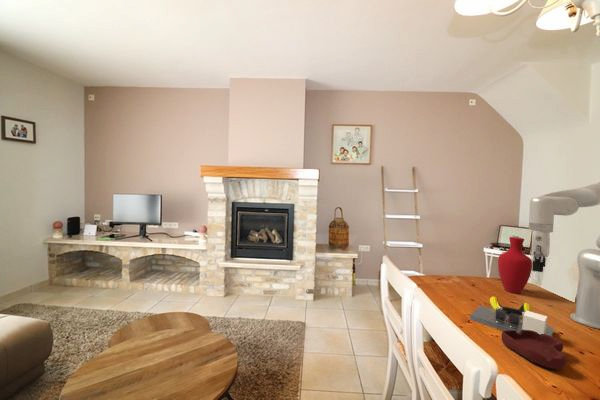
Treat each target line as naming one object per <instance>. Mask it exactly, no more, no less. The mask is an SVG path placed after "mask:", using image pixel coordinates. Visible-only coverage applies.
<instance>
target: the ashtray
mask: <svg viewBox="0 0 600 400" xmlns="http://www.w3.org/2000/svg"><path fill="white" fill-rule="evenodd" d="M501 342H502V344H503V345H504V346H505V347H506V348H508V349H509V350H512V351H513V352H515V353H518V354H519V355H521V356H523V357H524V358H526V359H527V360H529V361H530V362H533V363H535V364H536V365H540V366H543V367H544V368H545V369H547V370H550V371H556V370H561V369H563V368H565V367H566V364H567V357H566V355H565V353H563V352H562V351H563V350H564V343H563V342H562V341H560V340H559V339H558V338H557V337H555V336H549V335H546V334H538V333H537V332H535V331H532V330H521V331H520V332H519V333H517V332H516V330H509V331H503V330H502V333H501Z"/></svg>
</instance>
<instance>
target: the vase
mask: <svg viewBox="0 0 600 400" xmlns="http://www.w3.org/2000/svg"><path fill="white" fill-rule="evenodd" d="M524 241H525V238H523V237H517V236H509V243H510V247H509V250H507V251H505V252H502V253H501V254H500V255H499V256H498V258H497V266H498V273H499V278H500V281H501V283H502V286H503V289H504V291H506V292H507V293H511V294H518V295H519V294H521V293H522V291H523V290H524V288H525V287H526V285H527V284H528V281H529V279H530V277H531V273H532V271H533V270H532V265H533V260H532V259H531V258H530V257H529V256H528V255H526V254H525V253H524V252H523V250H522V247H523V245H524Z"/></svg>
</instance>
